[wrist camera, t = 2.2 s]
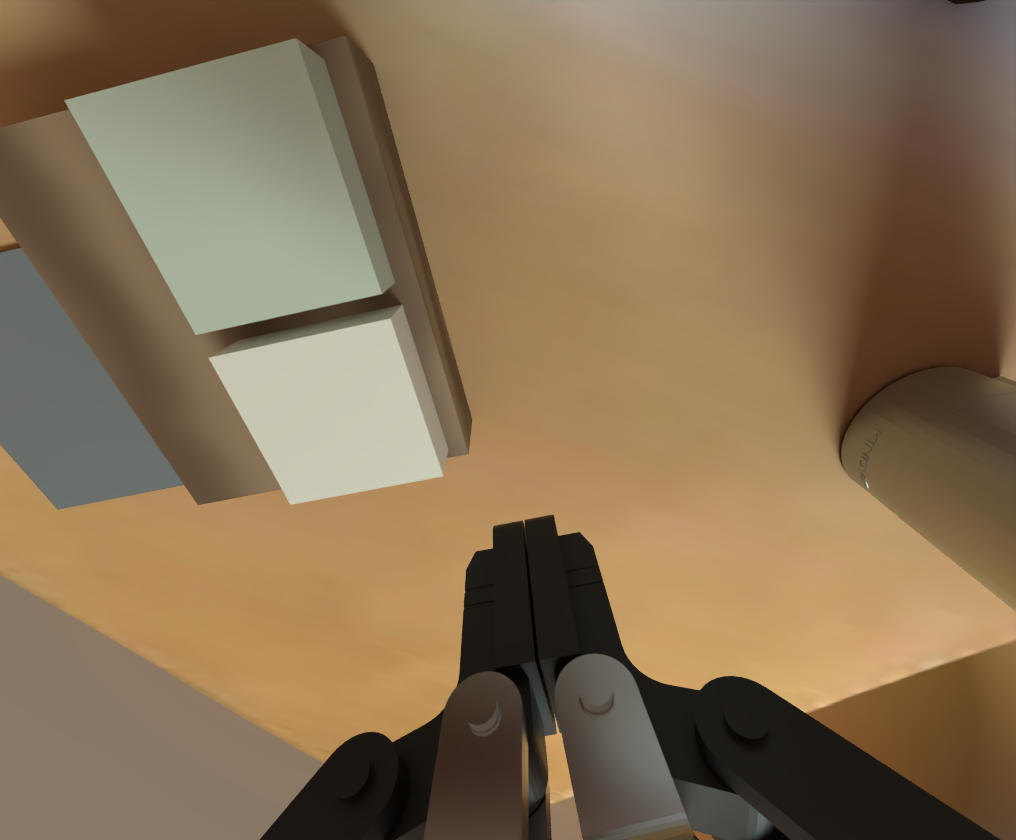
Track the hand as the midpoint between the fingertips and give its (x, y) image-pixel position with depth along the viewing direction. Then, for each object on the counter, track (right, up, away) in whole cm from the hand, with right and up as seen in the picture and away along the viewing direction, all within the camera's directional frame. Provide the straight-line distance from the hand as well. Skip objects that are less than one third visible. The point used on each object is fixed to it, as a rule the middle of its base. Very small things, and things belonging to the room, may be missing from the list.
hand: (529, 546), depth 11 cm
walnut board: (-12, +9, +13) cm, 20 cm away
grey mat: (-27, +5, +15) cm, 31 cm away
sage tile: (-10, +12, +7) cm, 17 cm away
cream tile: (-8, +4, +11) cm, 15 cm away
